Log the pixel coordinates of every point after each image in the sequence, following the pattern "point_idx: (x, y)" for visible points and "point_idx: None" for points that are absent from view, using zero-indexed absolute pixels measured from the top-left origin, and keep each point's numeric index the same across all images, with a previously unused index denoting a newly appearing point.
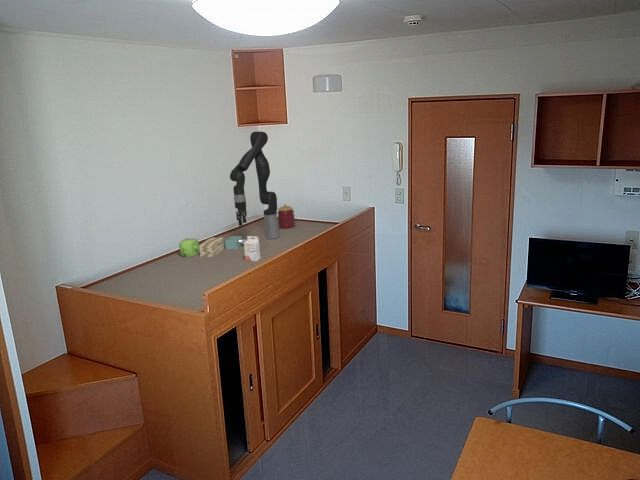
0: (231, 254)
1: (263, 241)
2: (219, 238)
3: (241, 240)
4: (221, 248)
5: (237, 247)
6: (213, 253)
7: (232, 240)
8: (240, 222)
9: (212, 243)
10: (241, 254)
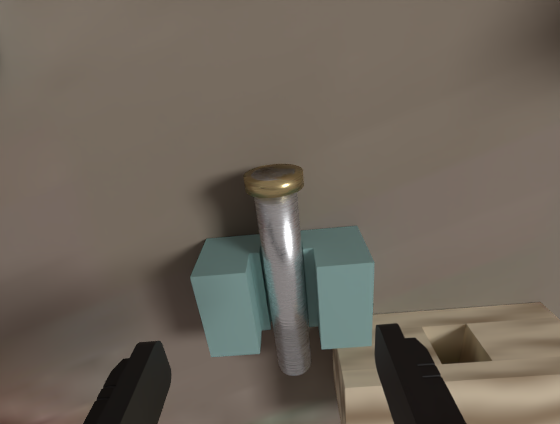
0: (514, 206)
1: (99, 80)
2: (376, 399)
3: (296, 237)
4: (387, 322)
5: (346, 230)
6: (553, 318)
7: (351, 300)
8: (448, 394)
9: (539, 391)
10: (538, 120)
